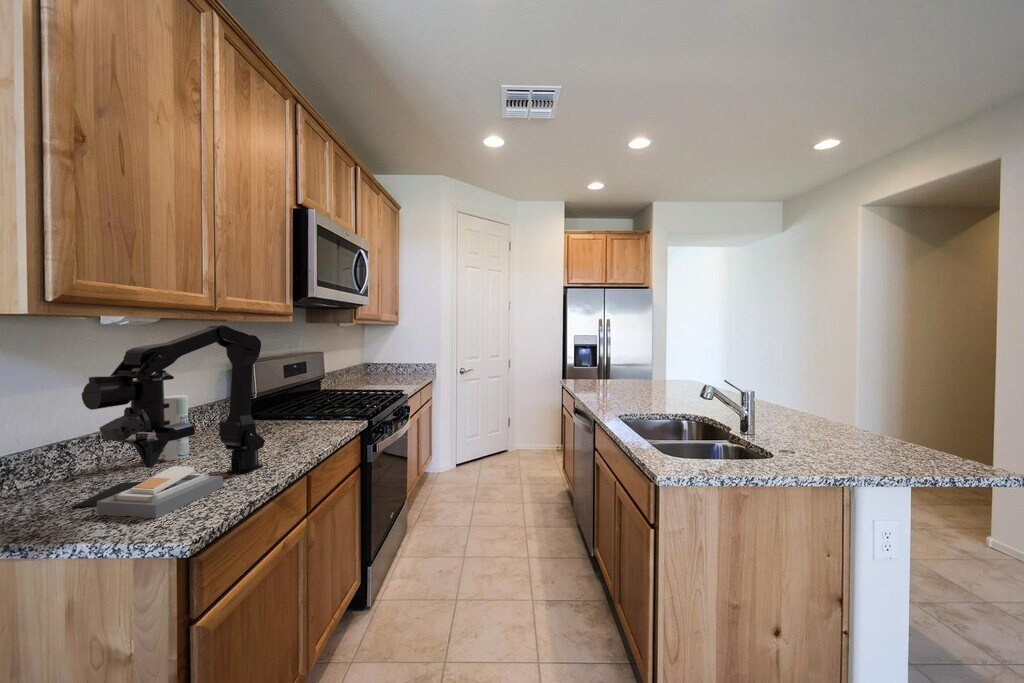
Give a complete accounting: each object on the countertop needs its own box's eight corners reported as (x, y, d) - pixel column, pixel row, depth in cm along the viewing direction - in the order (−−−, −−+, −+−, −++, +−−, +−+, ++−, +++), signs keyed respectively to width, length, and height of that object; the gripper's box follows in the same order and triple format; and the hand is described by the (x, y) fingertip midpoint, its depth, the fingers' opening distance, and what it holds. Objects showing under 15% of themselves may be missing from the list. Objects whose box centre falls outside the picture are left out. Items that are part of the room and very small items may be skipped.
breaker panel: (172, 485, 104) (172, 469, 104) (223, 487, 102) (222, 471, 102) (97, 515, 87) (96, 496, 87) (156, 518, 85) (155, 499, 85)
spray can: (182, 460, 124) (180, 397, 124) (158, 462, 123) (156, 398, 122) (193, 454, 131) (191, 394, 130) (170, 455, 129) (168, 395, 129)
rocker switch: (173, 470, 100) (172, 465, 100) (194, 471, 99) (193, 466, 99) (131, 493, 90) (130, 488, 90) (154, 494, 89) (153, 489, 89)
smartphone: (150, 480, 106) (106, 504, 92) (150, 483, 107) (106, 508, 92) (119, 482, 105) (70, 507, 90) (119, 485, 105) (70, 510, 90)
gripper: (70, 407, 84) (73, 479, 85) (146, 408, 82) (149, 482, 83) (127, 398, 95) (129, 461, 96) (195, 399, 93) (197, 464, 94)
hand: (150, 467), depth 92 cm, fingers closed
